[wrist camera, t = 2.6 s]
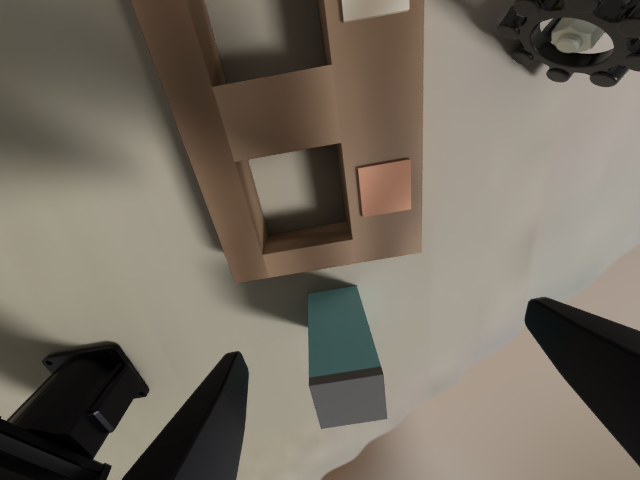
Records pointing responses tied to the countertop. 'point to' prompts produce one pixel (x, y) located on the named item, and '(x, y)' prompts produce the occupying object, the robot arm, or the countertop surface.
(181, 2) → the socket plate
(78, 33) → the countertop surface
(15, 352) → the countertop surface
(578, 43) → the valve
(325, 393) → the plug
